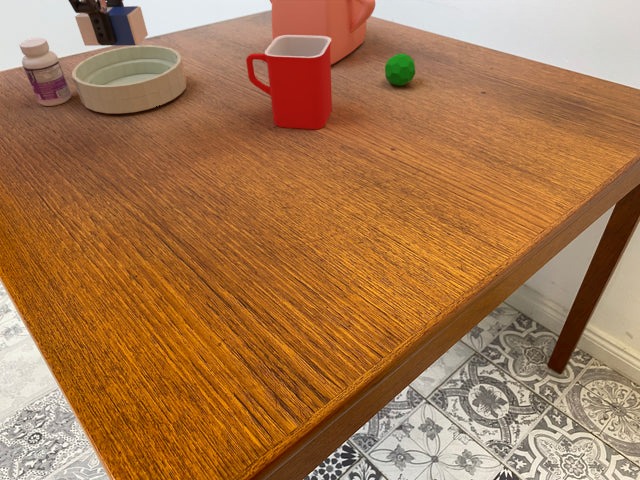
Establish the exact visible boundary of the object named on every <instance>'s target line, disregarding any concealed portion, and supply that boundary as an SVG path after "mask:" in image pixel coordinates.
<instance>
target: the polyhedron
mask: <svg viewBox="0 0 640 480" xmlns="http://www.w3.org/2000/svg"><path fill="white" fill-rule="evenodd" d="M384 73H385V79H386V80H387V81H388V83H390V84H391V85H393V86H397V87H402V86H404V85H406V84H408V83H409V82H411V81H413V79H414V77H415V75H416V64H415V60H414V59H413V58H412V57H411V56H410V55H408V54H407V53H401V52H400V53H397V54H395V55H393V56H391V57H390V58H388V59H387V61H386V63H385V65H384Z"/></svg>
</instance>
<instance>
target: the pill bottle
mask: <svg viewBox="0 0 640 480" xmlns="http://www.w3.org/2000/svg"><path fill="white" fill-rule="evenodd" d="M18 46H19V48H20V51H21V53H22V54H23V55H24V56H23V57H22V59H21V64H22V67H23V69H24V72H25V74H26V76H27V79H28V81H29V84H30V86H31V88H32V91H33V93H34V95H35V98H36V100H37V103H39V104H40V105H41V106H45V107H53V106H58V105H62V104H65V103H67V102H68V101H69V100H70V99H71V98H72V91H71V89H70V87H69V83H68V81H67V79H66V76H65V73H64V69H63V68H62V65H61V62H60V60H59V57H58V55H57V54H56V53H55V52H54V51H52V50H50V45H49V42H48V41H47V39H46V38H43V37H33V38H29V39H25V40H23V41H21V42H20V43H19V45H18Z"/></svg>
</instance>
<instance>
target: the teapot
mask: <svg viewBox="0 0 640 480" xmlns="http://www.w3.org/2000/svg"><path fill="white" fill-rule="evenodd" d="M269 2H270V4H271V36H272V41H273V40H274V39H275V38H277V37H278V36H282V35H307V36H326V37H329V38H331V45H330V61H331V65H334V64H336V63H337V62H339V61H341V60H342V59H344V58H345V57H346V56H348V55H350V54H351V53H352V52H354V51H355V50H356V49H357V48H359V47H360V46H361V45H362V44H363V43H364V42H365V39H366V34H367V20H369V18H370V17H371V16H372V15H373V13H374V11H375V8H376V0H269Z"/></svg>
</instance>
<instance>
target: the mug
mask: <svg viewBox="0 0 640 480" xmlns="http://www.w3.org/2000/svg"><path fill="white" fill-rule="evenodd" d="M330 45H331V38H329V37H326V36H307V35H282V36H278V37H277V38H275V39H274V40H273V39H272V41H271V43H270V44H269V45H268V46H267V48H265V50H264V53H249V54H248V55H247V57H246V61H245V62H246V69H247V77H248V79H249V82H250V83H251V84H252V85H254V86H255V87H257V88H258V89H259V90H261V91H262V92H264V93H266V94H267V95H269V96H270V102H271V111H272V117H273V124H274V125H275V126H276V127H279V128H286V129H303V130H319V129H322V128H323V127H325V126H326V124H327V122H328V120H329V118H330V115H331V113H332V111H333V101H332V100H333V99H332V98H333V97H332V93H333V91H332V67H331V61H330ZM254 60H258V61H262V62H264V63H266V65H267V74H268V75H267V76H268V80H269V81H268V83H269V85H266V84H265V83H263V82H262V81H260V80H259V79H258V78H257V76H256V75H255V69H254Z"/></svg>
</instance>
